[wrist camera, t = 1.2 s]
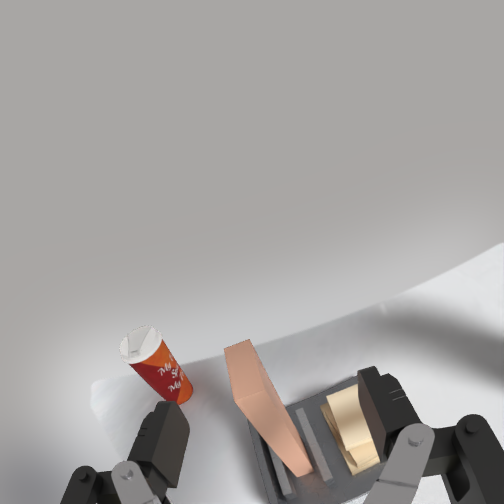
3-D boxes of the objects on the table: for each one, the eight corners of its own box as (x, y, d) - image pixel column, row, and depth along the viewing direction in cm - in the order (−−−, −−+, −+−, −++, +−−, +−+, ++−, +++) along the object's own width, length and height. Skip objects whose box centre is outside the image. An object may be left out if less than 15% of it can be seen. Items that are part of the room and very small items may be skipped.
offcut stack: (321, 411, 33) (315, 394, 31) (361, 392, 33) (359, 373, 31) (352, 475, 23) (350, 465, 21) (398, 451, 24) (401, 438, 21)
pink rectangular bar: (285, 443, 30) (223, 348, 22) (301, 437, 31) (249, 339, 22) (297, 477, 26) (234, 400, 17) (314, 471, 26) (265, 389, 17)
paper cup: (199, 404, 42) (155, 349, 36) (160, 413, 42) (112, 362, 36) (197, 372, 49) (160, 317, 43) (162, 382, 49) (122, 330, 43)
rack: (258, 422, 36) (243, 401, 33) (359, 378, 37) (356, 353, 34) (288, 523, 21) (274, 518, 18) (415, 467, 21) (423, 451, 19)
